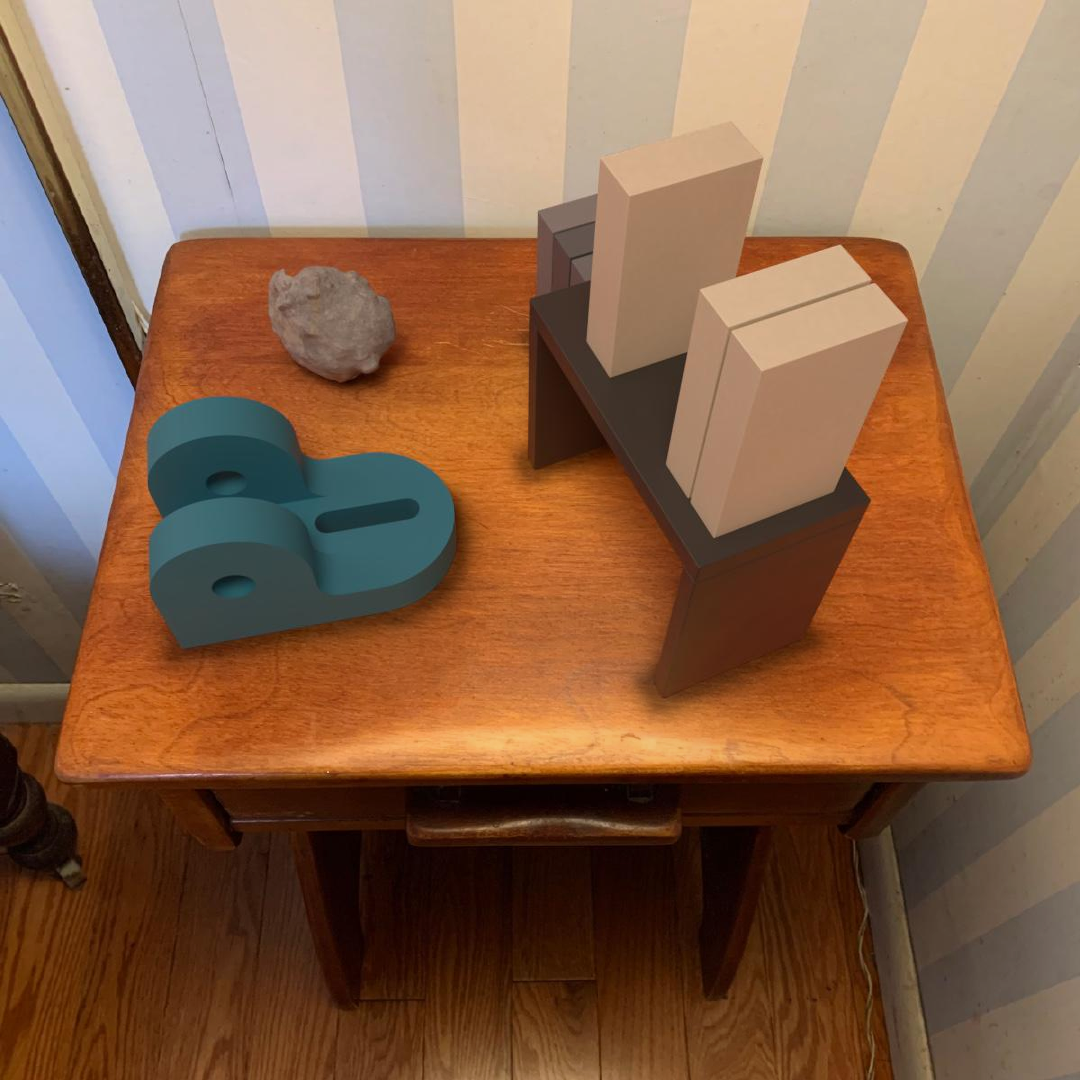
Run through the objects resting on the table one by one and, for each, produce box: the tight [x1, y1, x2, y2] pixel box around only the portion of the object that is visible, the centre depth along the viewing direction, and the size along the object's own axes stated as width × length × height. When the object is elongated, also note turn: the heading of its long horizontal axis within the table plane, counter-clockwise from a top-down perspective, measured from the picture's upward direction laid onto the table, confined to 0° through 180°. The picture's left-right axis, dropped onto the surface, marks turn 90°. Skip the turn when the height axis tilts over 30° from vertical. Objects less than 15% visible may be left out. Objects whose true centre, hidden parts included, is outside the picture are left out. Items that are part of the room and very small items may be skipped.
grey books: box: [535, 193, 598, 297], centre depth 72 cm, size 8×7×12 cm
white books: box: [666, 244, 909, 538], centre depth 47 cm, size 5×7×12 cm
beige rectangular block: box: [586, 121, 764, 378], centre depth 52 cm, size 3×7×12 cm, turn 114°
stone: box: [267, 265, 397, 384], centre depth 72 cm, size 9×7×10 cm
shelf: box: [527, 280, 872, 699], centre depth 62 cm, size 20×10×15 cm, turn 24°
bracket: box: [146, 395, 458, 650], centre depth 63 cm, size 18×10×10 cm, turn 103°
